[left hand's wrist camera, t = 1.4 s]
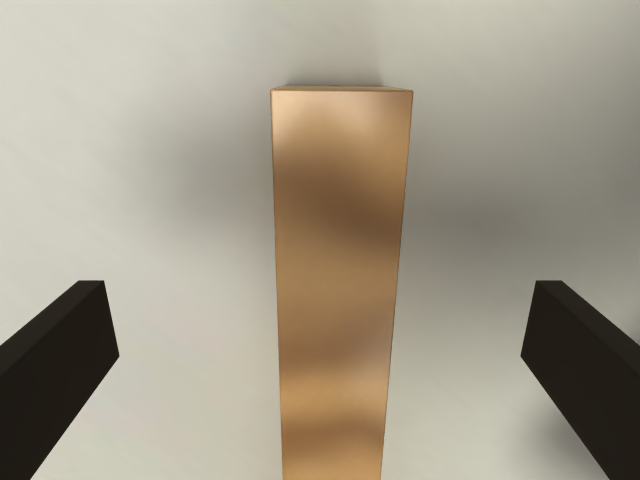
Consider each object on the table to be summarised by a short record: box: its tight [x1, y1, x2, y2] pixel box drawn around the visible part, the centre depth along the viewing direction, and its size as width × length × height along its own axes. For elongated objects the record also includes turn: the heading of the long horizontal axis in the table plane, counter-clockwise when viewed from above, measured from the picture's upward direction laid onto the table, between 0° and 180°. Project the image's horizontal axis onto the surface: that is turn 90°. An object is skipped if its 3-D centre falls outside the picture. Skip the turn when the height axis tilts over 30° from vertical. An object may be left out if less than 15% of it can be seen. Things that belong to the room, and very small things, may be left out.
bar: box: [270, 85, 413, 480], centre depth 28 cm, size 48×5×7 cm, turn 179°
